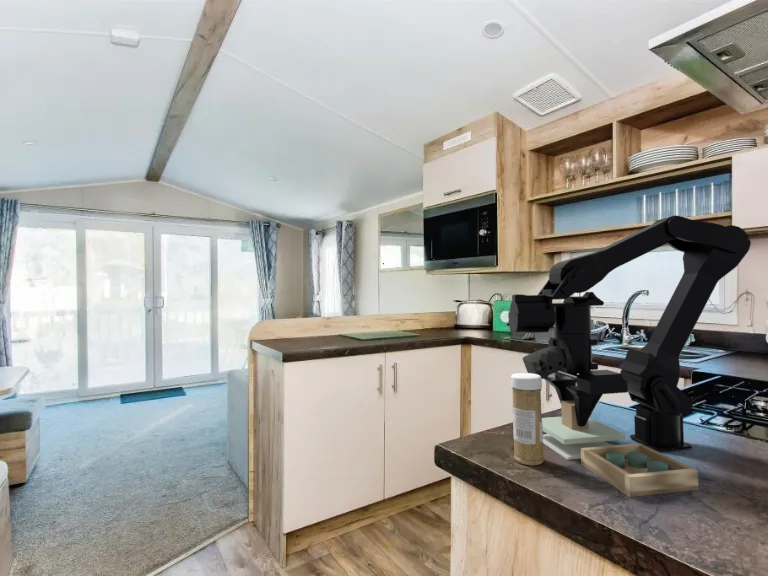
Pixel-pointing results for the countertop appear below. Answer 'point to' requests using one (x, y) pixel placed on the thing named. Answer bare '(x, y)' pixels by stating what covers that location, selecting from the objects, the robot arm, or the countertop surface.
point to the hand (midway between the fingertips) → (575, 423)
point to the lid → (577, 428)
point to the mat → (570, 447)
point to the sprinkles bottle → (527, 418)
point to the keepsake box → (639, 469)
